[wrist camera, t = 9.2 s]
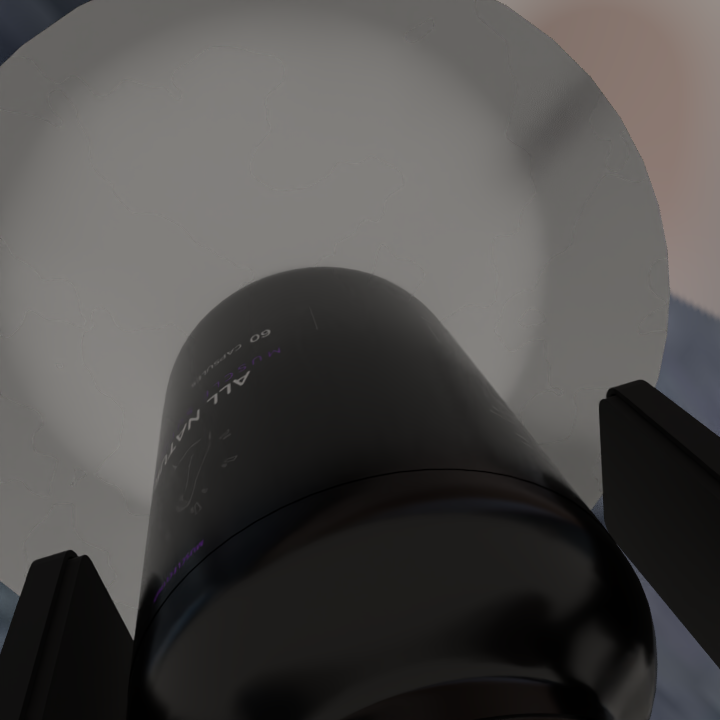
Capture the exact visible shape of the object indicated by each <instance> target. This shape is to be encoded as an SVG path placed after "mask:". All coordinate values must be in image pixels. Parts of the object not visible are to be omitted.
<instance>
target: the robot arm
mask: <svg viewBox="0 0 720 720" xmlns="http://www.w3.org/2000/svg"><path fill="white" fill-rule="evenodd" d="M599 425H600V445H601V466H602V486H603V507H604V520H605V524H606V527H607V530H608V532H609V534H610V536H611V537H612V538H613V539H614V541H615V542H616V544H617V545H618V546H619V547H620V548H621V550H622V551H623V552H624V553H625V554H626V556H627V557H628V558H629V559H630V561H631V562H632V563H633V564H634V565H635V567H636V568H637V569H638V570H639V571H640V573H641V574H642V575H643V576H644V578H645V579H646V580H647V581H648V582H649V584H650V585H651V586H652V587H653V588H654V590H655V591H656V592H657V593H658V594H659V596H660V597H661V598H662V599H663V601H664V602H665V603H666V604H667V605H668V607H669V608H670V609H671V610H672V611H673V613H674V614H675V615H676V616H677V618H678V619H679V620H680V621H681V622H682V624H683V625H684V626H685V627H686V628H687V630H688V631H689V632H690V633H691V635H692V636H693V637H694V638H695V639H696V641H697V642H698V643H699V644H700V645H701V647H702V648H703V649H704V650H705V651H706V653H707V654H708V655H709V656H710V658H711V659H712V660H713V661H714V662H715V664H716V665H717V666H718V667H719V668H720V437H719V436H717V435H716V434H715V433H713V432H712V431H711V430H710V429H708V428H707V427H706V426H704V425H703V424H702V423H700V422H699V421H698V420H696V419H695V418H694V417H692V416H691V415H690V414H689V413H687V412H686V411H685V410H683V409H682V408H681V407H679V406H678V405H677V404H675V403H674V402H673V401H671V400H670V399H669V398H668V397H666V396H665V395H664V394H662V393H661V392H660V391H658V390H657V389H656V388H654V387H653V386H652V385H650V384H649V383H648V382H646V381H644V380H636V381H632V382H629V383H626V384H622V385H619V386H616V387H612V388H610V389H609V390H608V391H607V393H606V398H605V399H602V400H601V401H600V402H599ZM133 644H134V640H133V638H132V637H131V635H130V633H129V631H128V629H127V627H126V625H125V623H124V621H123V619H122V618H121V616H120V614H119V612H118V610H117V608H116V606H115V604H114V602H113V600H112V599H111V597H110V595H109V593H108V591H107V589H106V587H105V585H104V583H103V581H102V580H101V578H100V576H99V574H98V572H97V570H96V568H95V566H94V564H93V562H92V561H91V559H90V558H89V557H88V556H87V555H82V556H78V555H77V554H76V553H75V552H74V551H73V550H67V551H63V552H60V553H57V554H53V555H50V556H47V557H43V558H40V559H37V560H35V561H33V562H32V564H31V566H30V568H29V571H28V574H27V577H26V580H25V583H24V586H23V589H22V592H21V595H20V598H19V601H18V604H17V606H16V609H15V612H14V615H13V618H12V621H11V624H10V627H9V630H8V633H7V636H6V639H5V642H4V645H3V648H2V651H1V654H0V720H126V711H127V702H128V695H127V694H128V685H129V676H130V668H131V660H132V652H133Z"/></svg>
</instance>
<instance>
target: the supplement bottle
mask: <svg viewBox="0 0 720 720" xmlns="http://www.w3.org/2000/svg"><path fill="white" fill-rule="evenodd" d="M656 681H657V649H656V637H655V630H654V625H653V621H652V616H651V612H650V607H649V603H648V601H647V598H646V596H645V593H644V590H643V588H642V585H641V583H640V581H639V578H638V577H637V575H636V573H635V571H634V570H633V568H632V566H631V565H630V563H629V561H628V560H627V558H626V557H625V555H624V554H623V552H622V551H621V550H620V548H619V547H618V546H617V544H616V542H615V541H614V539H613V538H612V537H611V536H610V534H609V533H608V532H607V530H606V529H605V528H604V526H603V525H602V524H601V523H600V521H599V520H598V519H597V518H596V516H595V515H594V514H593V513H592V511H591V510H590V509H589V508H588V506H587V505H586V504H585V502H584V501H583V500H582V499H581V497H580V496H579V495H578V494H577V492H576V491H575V490H574V489H573V487H572V486H571V485H570V484H569V482H568V481H567V480H566V479H565V477H564V476H563V475H562V474H561V472H560V471H559V470H558V468H557V467H556V466H555V465H554V463H553V462H552V461H551V460H550V458H549V457H548V456H547V455H546V453H545V452H544V451H543V450H542V448H541V447H540V446H539V445H538V443H537V442H536V441H535V440H534V438H533V437H532V436H531V434H530V433H529V432H528V431H527V429H526V428H525V427H524V426H523V424H522V423H521V422H520V421H519V419H518V418H517V417H516V416H515V414H514V413H513V412H512V411H511V409H510V408H509V407H508V406H507V404H506V403H505V402H504V401H503V399H502V398H501V397H500V395H499V394H498V393H497V392H496V390H495V389H494V388H493V387H492V385H491V384H490V383H489V382H488V380H487V379H486V378H485V377H484V375H483V374H482V373H481V372H480V370H479V369H478V368H477V367H476V365H475V364H474V363H473V361H472V360H471V359H470V358H469V356H468V355H467V354H466V353H465V351H464V350H463V349H462V348H461V346H460V345H459V344H458V343H457V341H456V340H455V339H454V338H453V336H452V335H451V334H450V333H449V331H448V330H447V329H446V328H445V327H444V326H443V324H442V323H441V322H440V321H439V320H438V318H437V317H436V316H435V315H434V314H433V313H432V312H431V311H430V310H429V309H428V308H427V307H426V306H425V305H424V304H423V303H422V302H421V301H419V300H418V299H417V298H416V297H414V296H413V295H412V294H411V293H409V292H408V291H406V290H405V289H403V288H401V287H400V286H398V285H396V284H394V283H392V282H390V281H388V280H386V279H384V278H381V277H379V276H376V275H373V274H370V273H366V272H363V271H359V270H353V269H347V268H341V267H307V268H299V269H293V270H288V271H284V272H279V273H276V274H273V275H270V276H267V277H264V278H262V279H259V280H257V281H255V282H253V283H250V284H248V285H247V286H245V287H243V288H241V289H239V290H237V291H236V292H234V293H233V294H231V295H230V296H228V297H227V298H226V299H224V300H223V301H222V302H220V303H219V304H218V305H217V306H216V307H214V308H213V309H212V310H211V311H210V312H209V313H208V314H207V315H206V316H205V317H204V318H203V319H202V320H201V321H200V322H199V323H198V325H197V326H196V327H195V328H194V330H193V331H192V332H191V333H190V335H189V336H188V338H187V340H186V341H185V343H184V344H183V346H182V348H181V350H180V352H179V354H178V356H177V358H176V360H175V363H174V366H173V368H172V371H171V374H170V377H169V381H168V385H167V389H166V395H165V401H164V408H163V413H162V421H161V429H160V437H159V445H158V453H157V461H156V469H155V477H154V485H153V492H152V500H151V508H150V516H149V524H148V532H147V540H146V548H145V556H144V564H143V572H142V580H141V588H140V596H139V604H138V612H137V620H136V628H135V636H134V644H133V652H132V660H131V668H130V676H129V685H128V694H127V695H128V702H127V711H126V720H650V717H651V713H652V708H653V703H654V698H655V693H656Z"/></svg>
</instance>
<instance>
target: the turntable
mask: <svg viewBox="0 0 720 720" xmlns="http://www.w3.org/2000/svg"><path fill="white" fill-rule="evenodd" d="M307 267H341V268H347V269H353V270H359V271H363V272H366V273H370V274H373V275H376V276H379V277H381V278H384V279H386V280H388V281H390V282H392V283H394V284H396V285H398V286H400V287H401V288H403V289H405V290H406V291H408V292H409V293H411V294H412V295H413V296H414V297H416V298H417V299H418V300H419V301H421V302H422V303H423V304H424V305H425V306H426V307H427V308H428V309H429V310H430V311H431V312H432V313H433V314H434V315H435V316H436V317H437V318H438V320H439V321H440V322H441V323H442V324H443V326H444V327H445V328H446V329H447V330H448V331H449V333H450V334H451V335H452V336H453V338H454V339H455V340H456V341H457V343H458V344H459V345H460V346H461V348H462V349H463V350H464V351H465V353H466V354H467V355H468V356H469V358H470V359H471V360H472V361H473V363H474V364H475V365H476V367H477V368H478V369H479V370H480V372H481V373H482V374H483V375H484V377H485V378H486V379H487V380H488V382H489V383H490V384H491V385H492V387H493V388H494V389H495V390H496V392H497V393H498V394H499V395H500V397H501V398H502V399H503V401H504V402H505V403H506V404H507V406H508V407H509V408H510V409H511V411H512V412H513V413H514V414H515V416H516V417H517V418H518V419H519V421H520V422H521V423H522V424H523V426H524V427H525V428H526V429H527V431H528V432H529V433H530V434H531V436H532V437H533V438H534V440H535V441H536V442H537V443H538V445H539V446H540V447H541V448H542V450H543V451H544V452H545V453H546V455H547V456H548V457H549V458H550V460H551V461H552V462H553V463H554V465H555V466H556V467H557V468H558V470H559V471H560V472H561V474H562V475H563V476H564V477H565V479H566V480H567V481H568V482H569V484H570V485H571V486H572V487H573V489H574V490H575V491H576V492H577V494H578V495H579V496H580V497H581V499H582V500H583V501H584V502H585V504H586V505H587V506H588V508H589V509H590V510H591V509H592V508H593V507H594V505H595V504H596V503H597V501H598V500H599V499H600V497H601V496H602V495H603V486H602V466H601V445H600V425H599V402H600V401H601V400H602V399H605V398H606V393H607V391H608V390H609V389H610V388H612V387H616V386H619V385H622V384H626V383H629V382H632V381H636V380H644V381H646V382H648V383H649V384H650V385H652V386H653V387H654V388H655V386H656V383H657V380H658V377H659V372H660V367H661V362H662V357H663V352H664V347H665V342H666V337H667V325H668V312H669V298H670V287H669V270H668V253H667V246H666V241H665V235H664V230H663V225H662V220H661V215H660V210H659V205H658V202H657V199H656V196H655V194H654V191H653V188H652V185H651V182H650V179H649V176H648V173H647V171H646V168H645V165H644V162H643V160H642V158H641V156H640V154H639V152H638V150H637V148H636V146H635V144H634V143H633V141H632V139H631V137H630V135H629V133H628V131H627V129H626V127H625V125H624V124H623V122H622V120H621V118H620V117H619V115H618V114H617V112H616V111H615V110H614V108H613V107H612V106H611V104H610V103H609V101H608V100H607V99H606V97H605V96H604V95H603V93H602V92H601V91H600V89H599V88H598V87H597V85H596V84H595V83H594V81H593V80H592V78H591V77H590V76H589V75H588V74H587V73H586V72H585V71H584V70H583V69H582V68H581V67H580V66H579V65H578V64H577V63H576V62H575V61H574V60H573V59H572V58H571V57H570V56H569V55H568V54H567V53H566V52H565V51H564V50H563V49H562V48H561V47H560V46H559V45H558V44H557V43H556V42H555V41H554V40H553V39H552V38H550V37H549V36H548V35H546V34H545V33H543V32H542V31H541V30H539V29H538V28H537V27H535V26H534V25H532V24H531V23H530V22H528V21H527V20H526V19H524V18H523V17H522V16H520V15H519V14H517V13H516V12H515V11H513V10H512V9H511V8H509V7H508V6H506V5H504V4H502V3H500V2H498V1H496V0H91V1H89V2H87V3H85V4H83V5H81V6H79V7H77V8H76V9H74V10H73V11H71V12H70V13H68V14H67V15H65V16H64V17H63V18H61V19H60V20H58V21H57V22H55V23H54V24H52V25H51V26H50V27H48V28H47V29H45V30H44V31H42V32H41V33H40V34H38V35H37V36H35V37H34V38H32V39H31V40H29V41H28V42H27V43H25V44H24V45H22V46H21V47H20V48H19V49H18V50H17V51H16V52H15V53H14V54H13V55H12V56H11V57H10V58H9V59H8V60H7V61H6V62H4V63H3V64H2V65H1V66H0V581H1V582H2V583H4V584H5V585H6V586H8V587H9V588H10V589H11V590H13V591H14V592H15V593H17V594H18V595H19V596H20V595H21V592H22V589H23V586H24V583H25V580H26V577H27V574H28V571H29V568H30V566H31V564H32V562H33V561H35V560H37V559H40V558H43V557H47V556H50V555H53V554H57V553H60V552H63V551H67V550H73V551H74V552H75V553H76V554H77V555H78V556H82V555H87V556H88V557H89V558H90V559H91V561H92V562H93V564H94V566H95V568H96V570H97V572H98V574H99V576H100V578H101V580H102V581H103V583H104V585H105V587H106V589H107V591H108V593H109V595H110V597H111V599H112V600H113V602H114V604H115V606H116V608H117V610H118V612H119V614H120V616H121V618H122V619H123V621H124V623H125V625H126V627H127V629H128V631H129V633H130V635H131V637H132V638H133V640H134V636H135V628H136V620H137V612H138V604H139V596H140V588H141V580H142V572H143V564H144V556H145V548H146V540H147V532H148V524H149V516H150V508H151V500H152V492H153V485H154V477H155V469H156V461H157V453H158V445H159V437H160V429H161V421H162V413H163V408H164V401H165V395H166V389H167V385H168V381H169V377H170V374H171V371H172V368H173V366H174V363H175V360H176V358H177V356H178V354H179V352H180V350H181V348H182V346H183V344H184V343H185V341H186V340H187V338H188V336H189V335H190V333H191V332H192V331H193V330H194V328H195V327H196V326H197V325H198V323H199V322H200V321H201V320H202V319H203V318H204V317H205V316H206V315H207V314H208V313H209V312H210V311H211V310H212V309H213V308H214V307H216V306H217V305H218V304H219V303H220V302H222V301H223V300H224V299H226V298H227V297H228V296H230V295H231V294H233V293H234V292H236V291H237V290H239V289H241V288H243V287H245V286H247V285H248V284H250V283H253V282H255V281H257V280H259V279H262V278H264V277H267V276H270V275H273V274H276V273H279V272H284V271H288V270H293V269H299V268H307Z"/></svg>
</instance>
